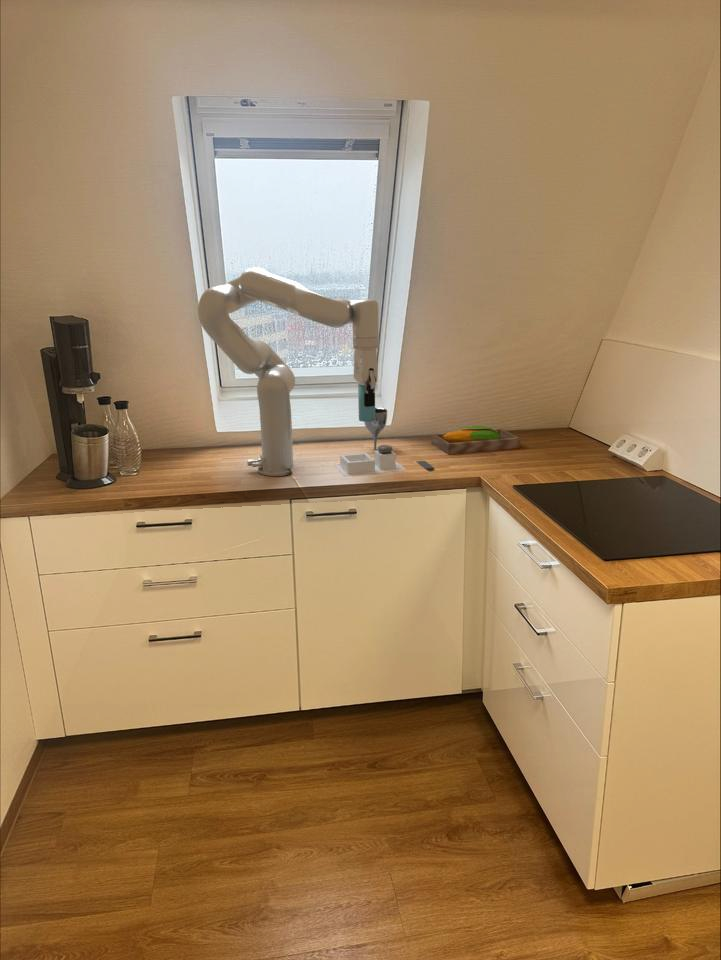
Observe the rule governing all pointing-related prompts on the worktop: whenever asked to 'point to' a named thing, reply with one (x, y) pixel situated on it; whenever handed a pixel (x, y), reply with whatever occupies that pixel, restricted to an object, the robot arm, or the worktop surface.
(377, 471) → the housing
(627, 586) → the worktop surface
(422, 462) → the mat
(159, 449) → the worktop surface
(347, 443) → the worktop surface
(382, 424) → the wine glass
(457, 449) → the brown rectangular tray
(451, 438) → the corn
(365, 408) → the cylinder
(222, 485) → the worktop surface
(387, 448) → the plunger
